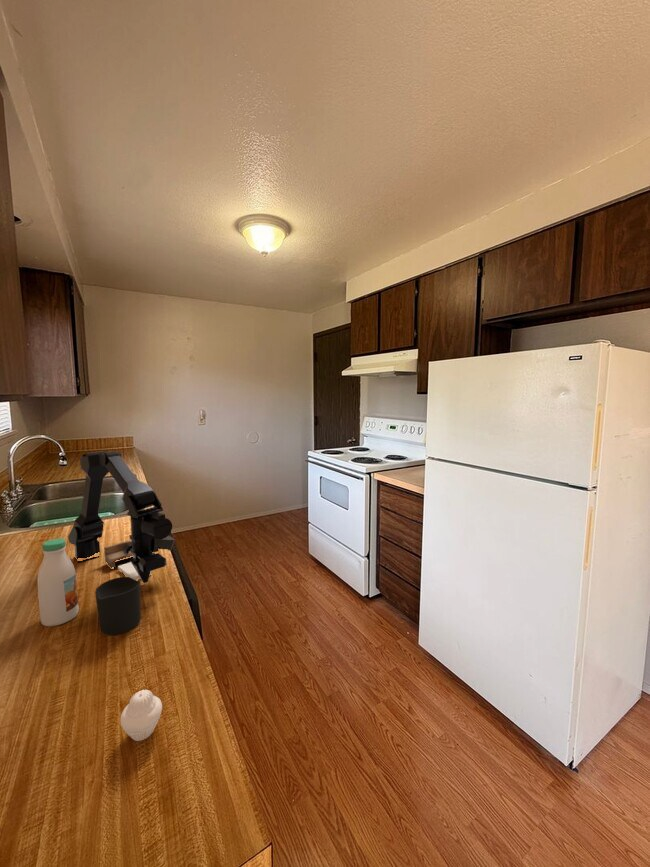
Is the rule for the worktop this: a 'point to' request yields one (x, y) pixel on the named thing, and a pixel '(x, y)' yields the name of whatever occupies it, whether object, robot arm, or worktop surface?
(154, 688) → the worktop surface
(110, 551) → the l-shaped bracket
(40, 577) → the milk bottle
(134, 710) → the white rounded lump
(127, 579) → the pen holder
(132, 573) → the tile
